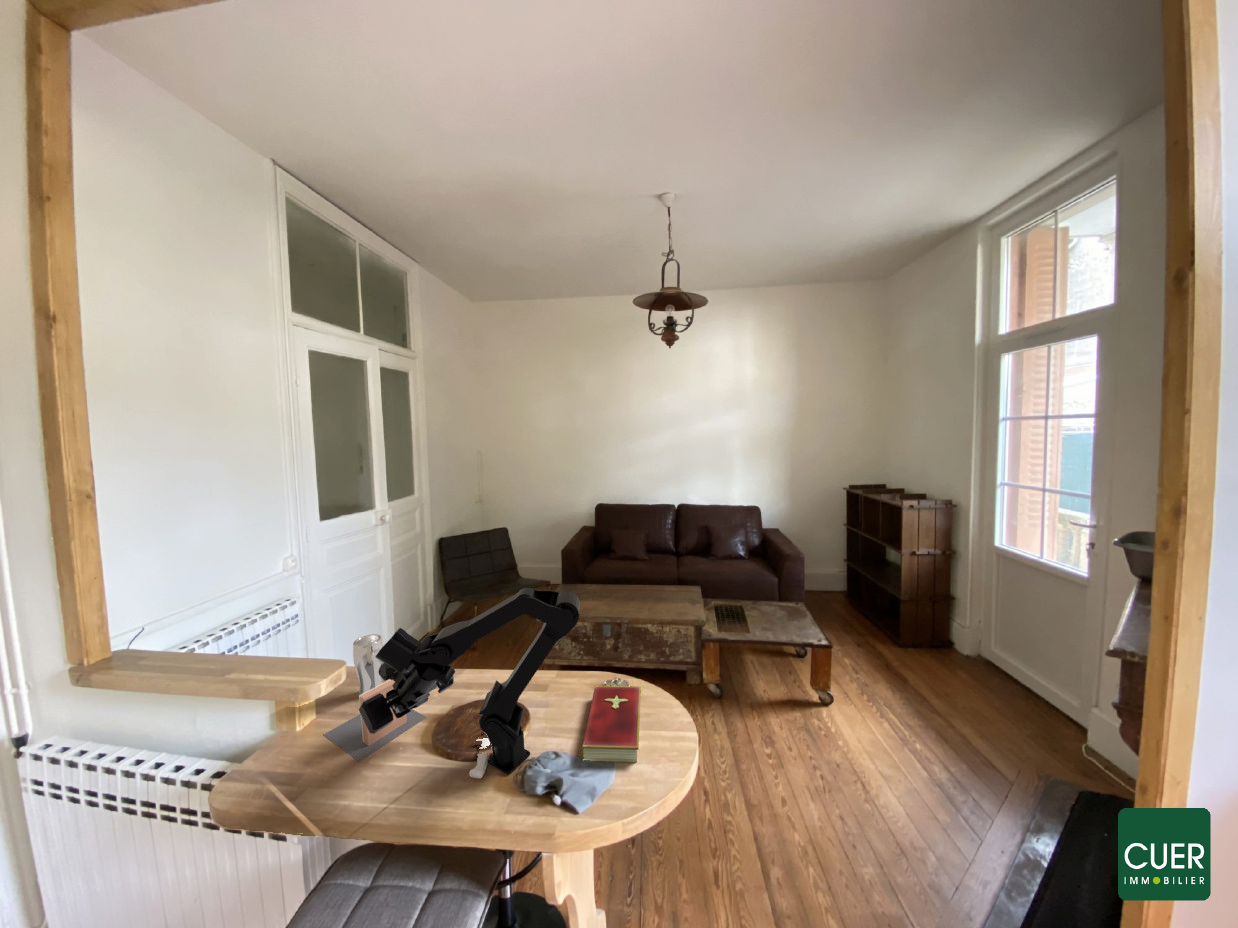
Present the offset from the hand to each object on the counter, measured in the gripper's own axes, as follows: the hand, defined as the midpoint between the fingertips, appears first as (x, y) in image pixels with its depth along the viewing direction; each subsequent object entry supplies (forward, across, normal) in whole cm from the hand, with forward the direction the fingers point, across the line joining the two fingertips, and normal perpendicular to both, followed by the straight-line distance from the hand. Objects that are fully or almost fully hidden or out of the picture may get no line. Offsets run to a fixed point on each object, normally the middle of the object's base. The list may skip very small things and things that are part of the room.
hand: (396, 710), depth 97 cm
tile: (+9, 0, +1) cm, 9 cm away
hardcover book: (-22, -28, +34) cm, 49 cm away
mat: (+12, 0, -1) cm, 12 cm away
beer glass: (+23, -7, -12) cm, 27 cm away
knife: (-3, -12, +15) cm, 19 cm away
